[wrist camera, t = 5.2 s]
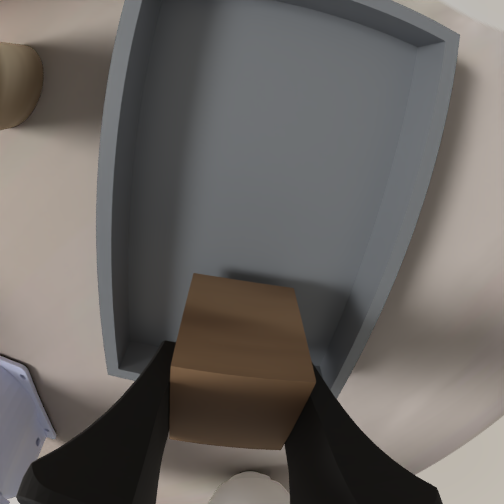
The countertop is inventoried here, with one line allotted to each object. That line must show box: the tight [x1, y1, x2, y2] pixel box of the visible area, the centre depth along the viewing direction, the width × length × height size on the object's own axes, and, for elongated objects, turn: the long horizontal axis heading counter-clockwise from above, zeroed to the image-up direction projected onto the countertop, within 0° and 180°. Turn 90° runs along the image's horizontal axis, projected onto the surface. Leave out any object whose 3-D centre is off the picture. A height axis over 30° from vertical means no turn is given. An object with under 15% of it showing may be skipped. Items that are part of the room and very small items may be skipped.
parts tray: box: [96, 0, 460, 399], centre depth 12 cm, size 17×11×2 cm, turn 169°
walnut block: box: [169, 273, 316, 450], centre depth 11 cm, size 4×4×5 cm
